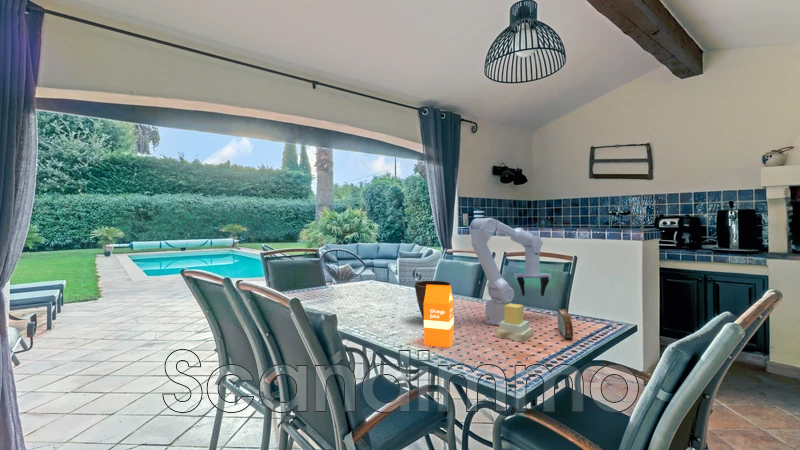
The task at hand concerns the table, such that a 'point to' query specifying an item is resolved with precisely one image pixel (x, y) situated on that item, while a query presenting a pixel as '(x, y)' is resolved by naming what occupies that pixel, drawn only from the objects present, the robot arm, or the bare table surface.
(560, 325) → the tin
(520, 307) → the mustard block
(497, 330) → the oak plinth
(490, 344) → the table surface
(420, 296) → the plant pot
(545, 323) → the table surface
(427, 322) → the orange juice
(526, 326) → the sage top slab
